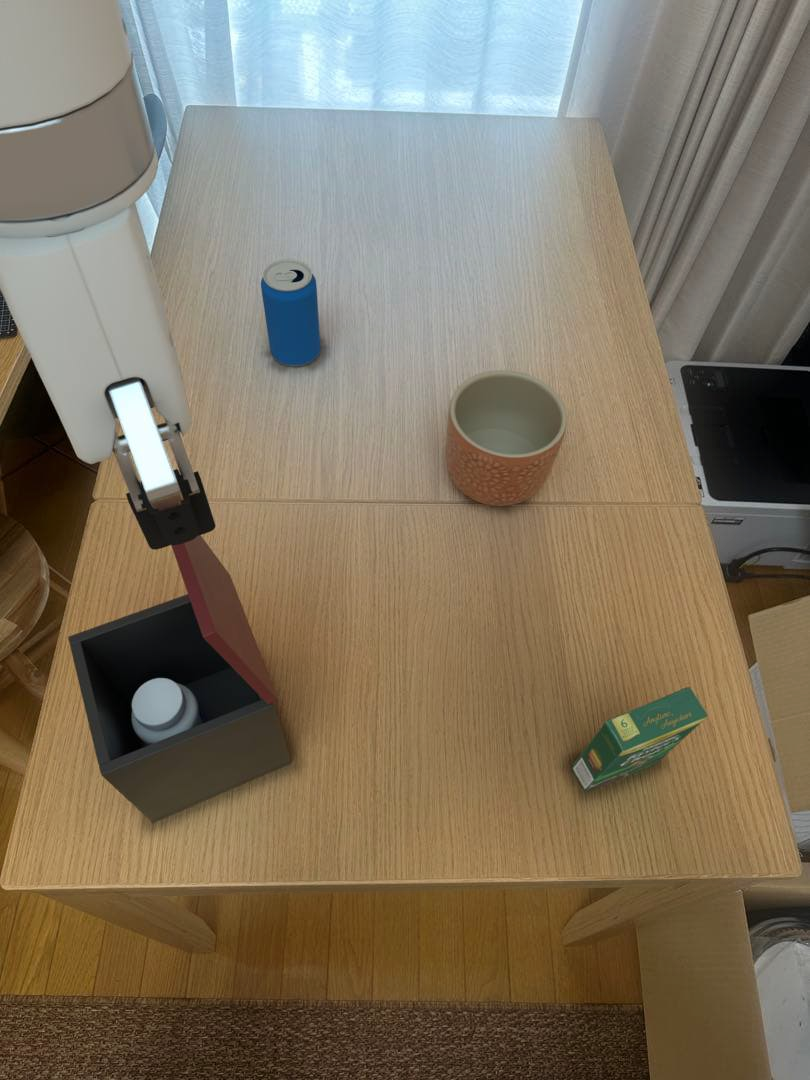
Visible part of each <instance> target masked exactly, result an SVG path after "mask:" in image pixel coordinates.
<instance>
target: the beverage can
mask: <svg viewBox="0 0 810 1080" xmlns="http://www.w3.org/2000/svg"><path fill="white" fill-rule="evenodd" d="M312 271H313V270H312V268H311V267H310V266H309V265H308V264H307V263H305V262H304V261H302V260H300V259H294V258H283V259H278V260H274V261H273V262H271V263H269V264H268V265H267V266H266V267H265V268H264V270H263V273H262V277H261V281H260V290H261V295H262V303H263V310H264V317H265V318H264V319H265V324H266V331H267V339H268V344H269V351H270V355H271V356H272V358H274V360H276V361H277V362H278V363H280V364H282V365H286V366H291V367H299V366H304V365H307V364H309V363H311V362H313V361H314V360H316V359H317V358H318V356H320V353H321V350H322V344H321V331H320V318H319V317H320V316H319V302H318V301H319V300H318V288H317V280H316V277H315V275H314V274H313V272H312Z"/></svg>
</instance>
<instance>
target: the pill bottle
mask: <svg viewBox="0 0 810 1080" xmlns="http://www.w3.org/2000/svg"><path fill="white" fill-rule="evenodd" d="M131 720H132V726H133V728H134V731H135V732H136V734H137V735H138V737H139V738H140V739H141V740H142V741H143V743H144V744H145V745H146V746H148V745H151V744H153V743H156V742H158V741H161V740H163V739H166V738H168V737H171V736H173V735H176V734H178V733H181V732H183V731H185V730H188V729H190V728H193V727H195V726H198V725H200V724H203V723H205V722H208V720H207V718H206V716H205V714H204V712H203V710H202V708H201V706H200V704H199V703H198V701H197V699H196V697H195V696H194V694H193V693H192V692H191V691H190V690H189V689H188V688H187V687H185V686H183V685H181V684H179V683H175V682H174V681H172V680H170V679H166V678H156V679H152V680H150V681H148V682H146V683H144V684H143V685H142V686H140V688H139V689H138V690H137V691H136V693H135V694H134V697H133V700H132V717H131Z"/></svg>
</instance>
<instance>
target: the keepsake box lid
mask: <svg viewBox="0 0 810 1080" xmlns="http://www.w3.org/2000/svg"><path fill="white" fill-rule="evenodd" d="M170 546H171V549H172V552H173V555H174V557H175V561H176V563H177V566H178V569H179V572H180V575H181V577H182V580H183V584H184V588H185V589H186V592H187V594H188V595H189V598H190V601H191V604H192V607H193V610H194V613H195V616H196V619H197V621H198V624H199V627H200V630H201V633H202V636H203V638H204V639H205V640H206V641H207V642H208V643H209V644H210V645H211V646H212V647H213V648H214V649H215V650H216V651H217V652H218V653H219V654H220V655H221V656H222V657H223V658H224V659H225V660H226V661H227V662H228V663H229V665H230V666H231V667H232V668H233V669H234V670H235V671H236V672H237V673H238V674H239V675H240V676H241V677H242V678H243V679H244V680H245V681H246V682H247V683H248V684H249V685H250V686H251V687H252V688H253V689H254V690H255V691H256V692H257V693H258V694H259V695H260V696H261V697H262V698H263V699H264V701H265V702H266V703H267V704H271V703H275V702H277V701H278V700H279V699H278V695H277V693H276V690H275V688H274V685H273V683H272V680H271V678H270V675H269V673H268V669H267V667H266V665H265V662H264V660H263V657H262V654H261V651H260V649H259V646H258V644H257V641H256V638H255V636H254V633H253V631H252V628H251V625H250V623H249V620H248V617H247V616H246V613H245V610H244V607H243V605H242V602H241V600H240V599H241V598H240V597H239V595H238V591H237V589H236V586H235V584H234V581H233V578H232V576H231V574H230V573H229V572H228V570H227V569H226V567H225V566H224V565H223V564H222V562H221V561H220V559H219V558H218V557H217V555H216V554H215V552H214V551H213V550H212V548H211V547H210V546H209V544H208V543H207V542H206V540H205V539H204V538H203V536H202V535H199V536H197V537H196V538H195V539H193V540H191V541H189V542H186V543H183V544H179V545H170Z"/></svg>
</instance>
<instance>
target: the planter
mask: <svg viewBox="0 0 810 1080" xmlns="http://www.w3.org/2000/svg"><path fill="white" fill-rule="evenodd" d="M446 421H447V422H446V440H445V450H444V453H445V454H444V455H445V465H446V469H447V472H448V475H449V477H450V479H451V480H452V482H453V483H454V485H455V486H456V487H457V489H458V490H460V492H461V493H462V494H464V495H465V496H467V497H468V498H470V499H472V500H473V501H476V502H478V503H481V504H484V505H487V506H493V507H506V506H512V505H517V504H520V503H522V502H524V501H525V502H526V501H527V500H528V499H530V498H531V497H533V496H534V495H535V494H537V493H538V491H540V490H541V488H542V487H543V486H544V485H545V483H546V481H547V480H548V478H549V476H550V474H551V471H552V468H553V466H554V463H555V461H556V458H557V456H558V453H559V451H560V449H561V446H562V445H563V444H562V443H563V441H564V439H565V435H566V431H567V428H568V427H567V426H568V414H567V409H566V406H565V404H564V402H563V400H562V399H561V397H560V396H559V394H558V393H557V392H556V391H555V390H554V389H553V388H552V387H551V386H550V385H548V384H547V383H545V382H544V381H543V380H541V379H539V378H537V377H535V376H533V375H530V374H527V373H525V372H520V371H515V370H508V369H507V370H500V369H499V370H489V371H485V372H481V373H478V374H475V375H473V376H471V377H470V378H468V379H466V380H465V381H463V382H462V383H461V384H460V385H459V386H458V387H457V389H456V390H455V391H454V393H453V395H452V397H451V400H450V402H449V406H448V412H447V420H446Z"/></svg>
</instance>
